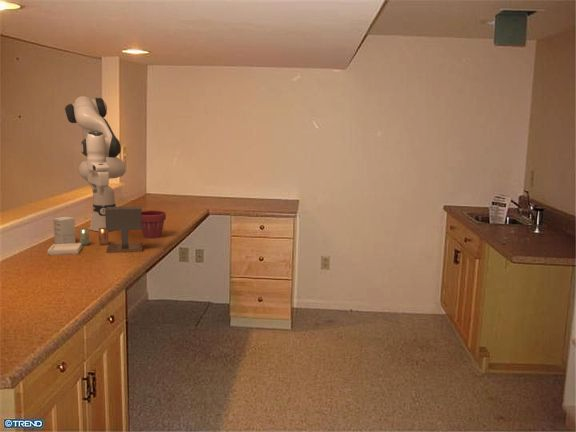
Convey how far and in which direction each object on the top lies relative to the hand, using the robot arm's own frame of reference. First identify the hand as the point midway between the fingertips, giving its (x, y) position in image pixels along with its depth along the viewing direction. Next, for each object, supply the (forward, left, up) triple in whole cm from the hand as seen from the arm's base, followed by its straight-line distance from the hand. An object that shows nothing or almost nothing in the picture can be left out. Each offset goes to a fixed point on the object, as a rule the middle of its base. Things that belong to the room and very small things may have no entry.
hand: (98, 194), depth 277 cm
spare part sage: (+1, -7, -25) cm, 26 cm away
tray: (+13, -14, -25) cm, 31 cm away
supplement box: (-5, -17, -25) cm, 31 cm away
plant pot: (-14, +25, -25) cm, 38 cm away
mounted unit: (+13, +13, -25) cm, 31 cm away
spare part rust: (+1, +2, -25) cm, 25 cm away
